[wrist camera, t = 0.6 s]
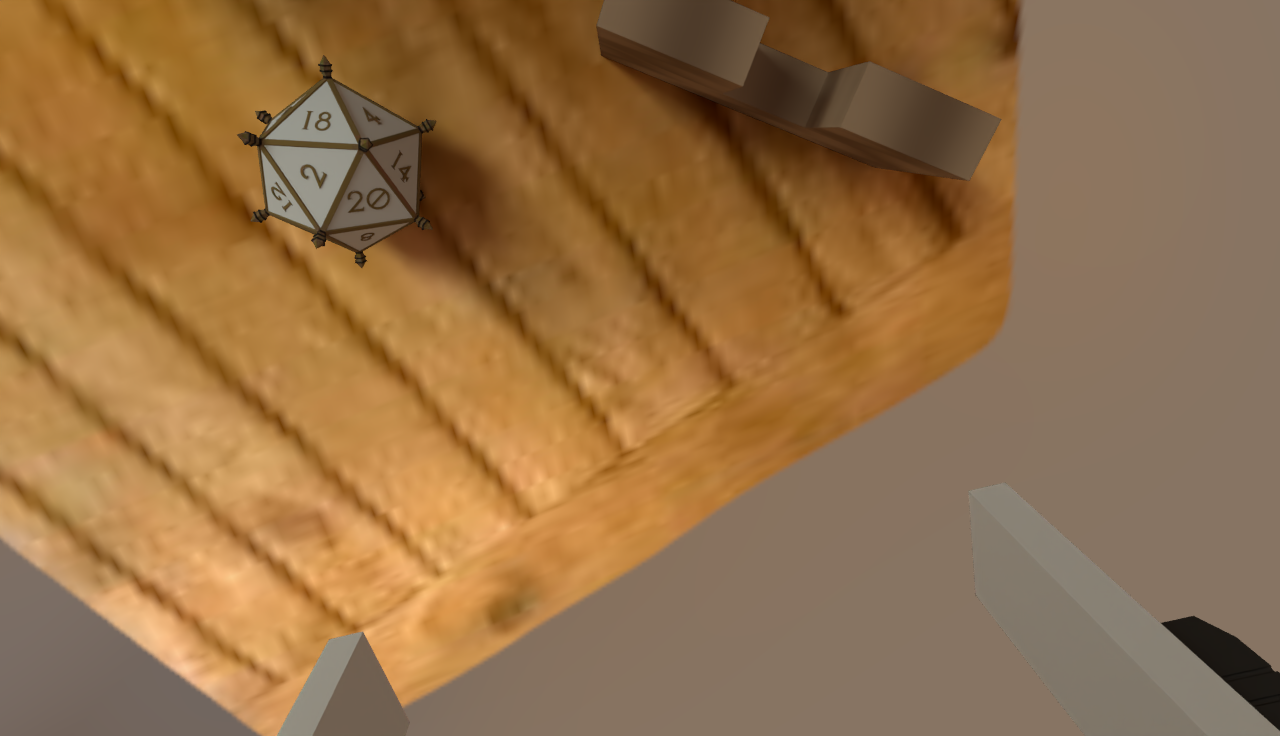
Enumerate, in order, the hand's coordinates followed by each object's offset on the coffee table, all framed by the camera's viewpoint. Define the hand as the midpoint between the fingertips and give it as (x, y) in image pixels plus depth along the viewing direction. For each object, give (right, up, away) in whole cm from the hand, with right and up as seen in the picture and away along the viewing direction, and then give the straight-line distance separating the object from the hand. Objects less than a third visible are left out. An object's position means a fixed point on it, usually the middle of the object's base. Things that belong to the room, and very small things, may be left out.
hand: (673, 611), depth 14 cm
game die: (-15, +16, +21) cm, 30 cm away
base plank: (+5, +20, +20) cm, 29 cm away
